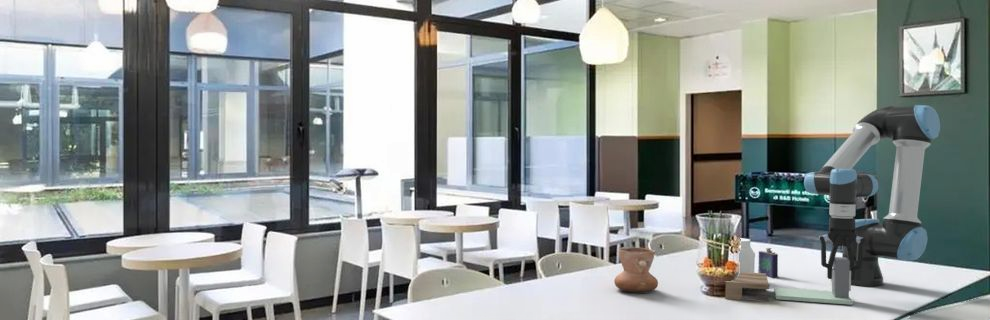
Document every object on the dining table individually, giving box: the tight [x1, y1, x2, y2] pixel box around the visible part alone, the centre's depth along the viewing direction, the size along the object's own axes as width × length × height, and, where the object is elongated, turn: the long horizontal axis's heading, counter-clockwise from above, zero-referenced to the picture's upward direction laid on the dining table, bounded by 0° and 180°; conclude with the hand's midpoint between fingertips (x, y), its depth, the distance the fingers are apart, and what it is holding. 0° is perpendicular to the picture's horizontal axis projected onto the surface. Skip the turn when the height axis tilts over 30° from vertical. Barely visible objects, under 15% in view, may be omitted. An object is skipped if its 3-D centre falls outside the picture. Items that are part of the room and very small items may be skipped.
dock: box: [724, 272, 770, 302], centre depth 235 cm, size 20×13×6 cm, turn 161°
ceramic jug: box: [613, 246, 659, 294], centre depth 239 cm, size 18×14×14 cm
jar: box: [739, 237, 756, 273], centre depth 259 cm, size 12×10×15 cm
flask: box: [757, 247, 779, 279], centre depth 268 cm, size 9×3×11 cm, turn 21°
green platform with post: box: [773, 256, 853, 306], centre depth 229 cm, size 13×22×13 cm, turn 72°
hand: (840, 289), depth 226 cm, fingers closed on green platform with post, 4 cm apart
